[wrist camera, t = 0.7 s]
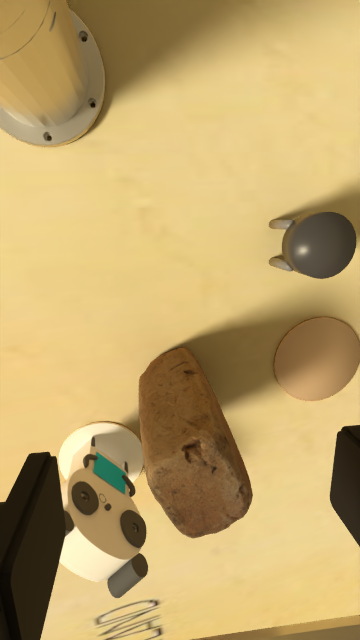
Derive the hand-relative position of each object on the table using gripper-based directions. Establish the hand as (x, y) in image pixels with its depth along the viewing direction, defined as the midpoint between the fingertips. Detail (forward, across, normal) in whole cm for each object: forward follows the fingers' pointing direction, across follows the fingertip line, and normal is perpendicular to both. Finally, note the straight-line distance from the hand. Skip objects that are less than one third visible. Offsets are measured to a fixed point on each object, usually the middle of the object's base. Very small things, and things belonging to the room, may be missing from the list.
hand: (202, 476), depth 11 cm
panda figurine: (+32, +8, +23) cm, 40 cm away
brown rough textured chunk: (+31, -2, +12) cm, 34 cm away
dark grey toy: (+31, -16, -6) cm, 36 cm away
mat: (+31, -21, +10) cm, 39 cm away
